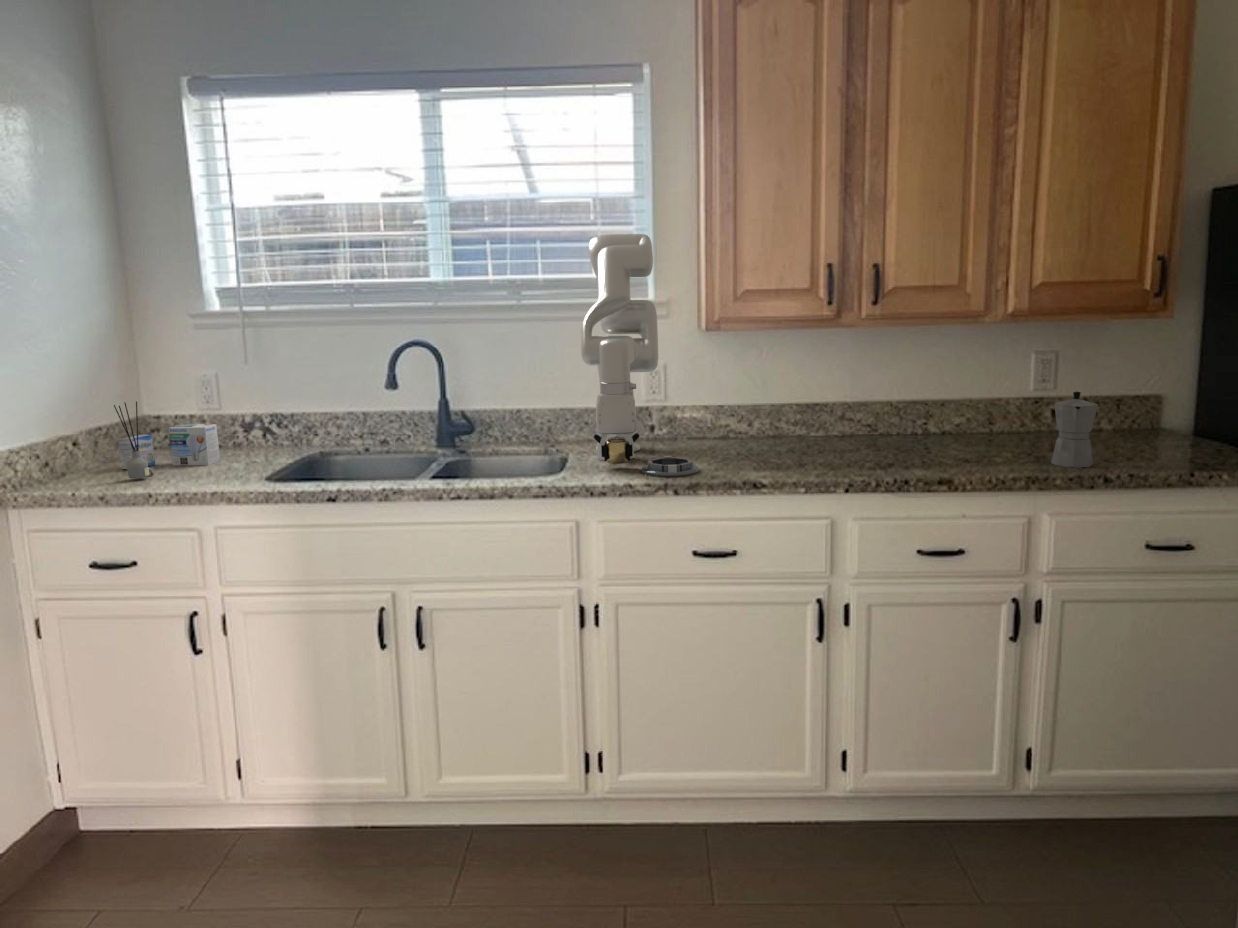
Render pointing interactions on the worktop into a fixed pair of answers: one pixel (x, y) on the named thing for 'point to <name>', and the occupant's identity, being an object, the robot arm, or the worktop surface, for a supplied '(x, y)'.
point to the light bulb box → (194, 444)
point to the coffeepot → (1074, 432)
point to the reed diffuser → (135, 454)
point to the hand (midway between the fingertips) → (617, 458)
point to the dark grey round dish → (670, 467)
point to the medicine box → (143, 445)
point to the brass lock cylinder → (616, 450)
